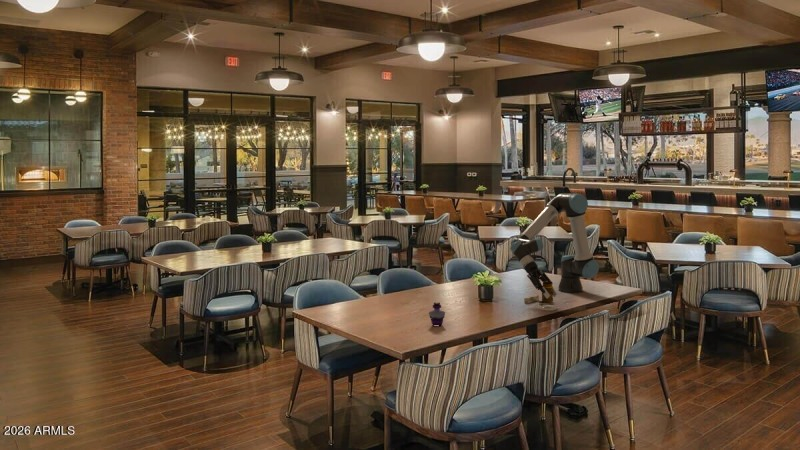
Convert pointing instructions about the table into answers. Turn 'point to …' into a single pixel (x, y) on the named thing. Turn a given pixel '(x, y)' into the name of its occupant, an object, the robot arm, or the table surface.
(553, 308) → the plate
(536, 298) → the rail holder
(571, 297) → the table surface
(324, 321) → the table surface
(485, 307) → the table surface
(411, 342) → the table surface
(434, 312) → the potion bottle
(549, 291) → the condiment
